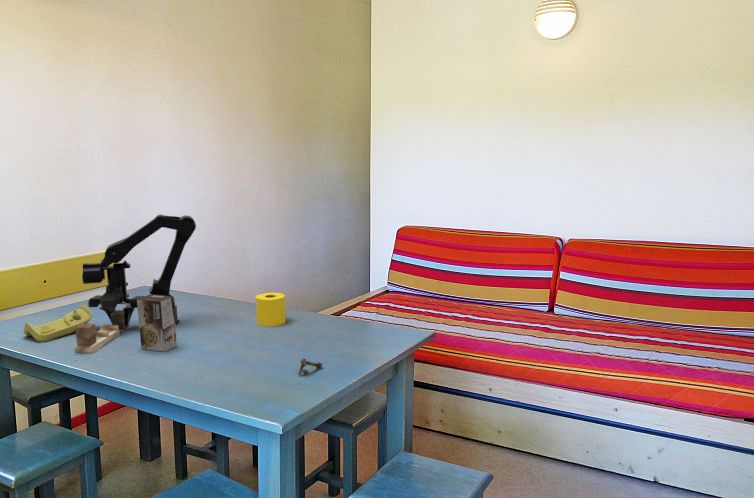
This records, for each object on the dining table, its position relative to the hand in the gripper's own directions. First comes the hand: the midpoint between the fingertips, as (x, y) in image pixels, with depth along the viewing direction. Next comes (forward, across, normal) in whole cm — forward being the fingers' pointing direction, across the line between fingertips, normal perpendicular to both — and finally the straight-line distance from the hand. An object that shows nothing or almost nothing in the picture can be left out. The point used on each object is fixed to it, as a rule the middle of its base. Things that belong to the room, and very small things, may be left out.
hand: (120, 325), depth 215 cm
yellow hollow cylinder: (+1, +50, +10) cm, 51 cm away
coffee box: (+1, +21, -18) cm, 28 cm away
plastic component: (+2, -18, -5) cm, 19 cm away
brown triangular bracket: (+1, +72, -36) cm, 81 cm away
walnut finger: (+1, 0, 0) cm, 1 cm away
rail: (+1, 0, -16) cm, 16 cm away
